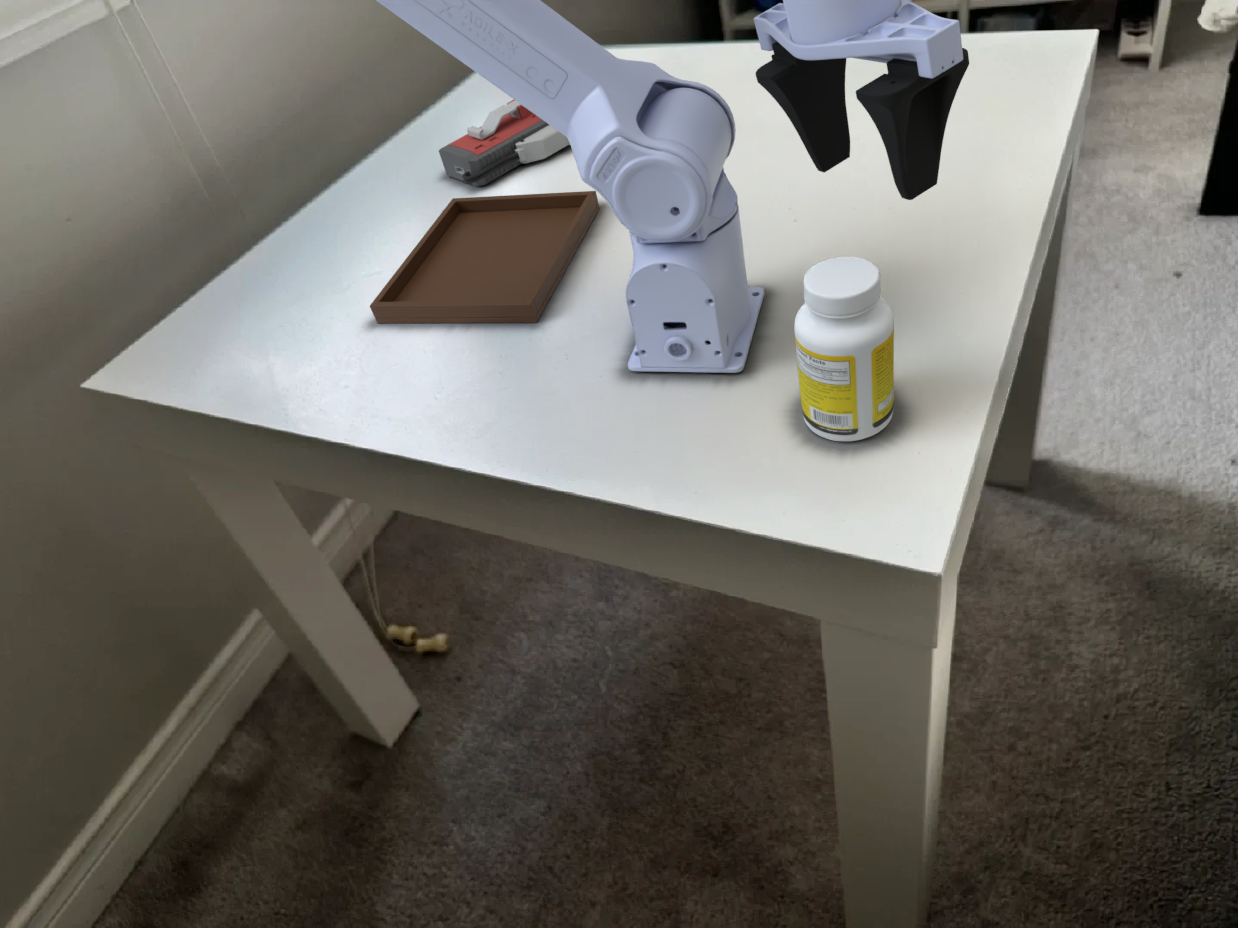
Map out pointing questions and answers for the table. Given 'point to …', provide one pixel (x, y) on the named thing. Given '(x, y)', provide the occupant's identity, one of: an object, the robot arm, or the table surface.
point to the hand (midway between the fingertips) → (874, 176)
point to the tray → (488, 260)
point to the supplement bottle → (845, 350)
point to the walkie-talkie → (501, 145)
